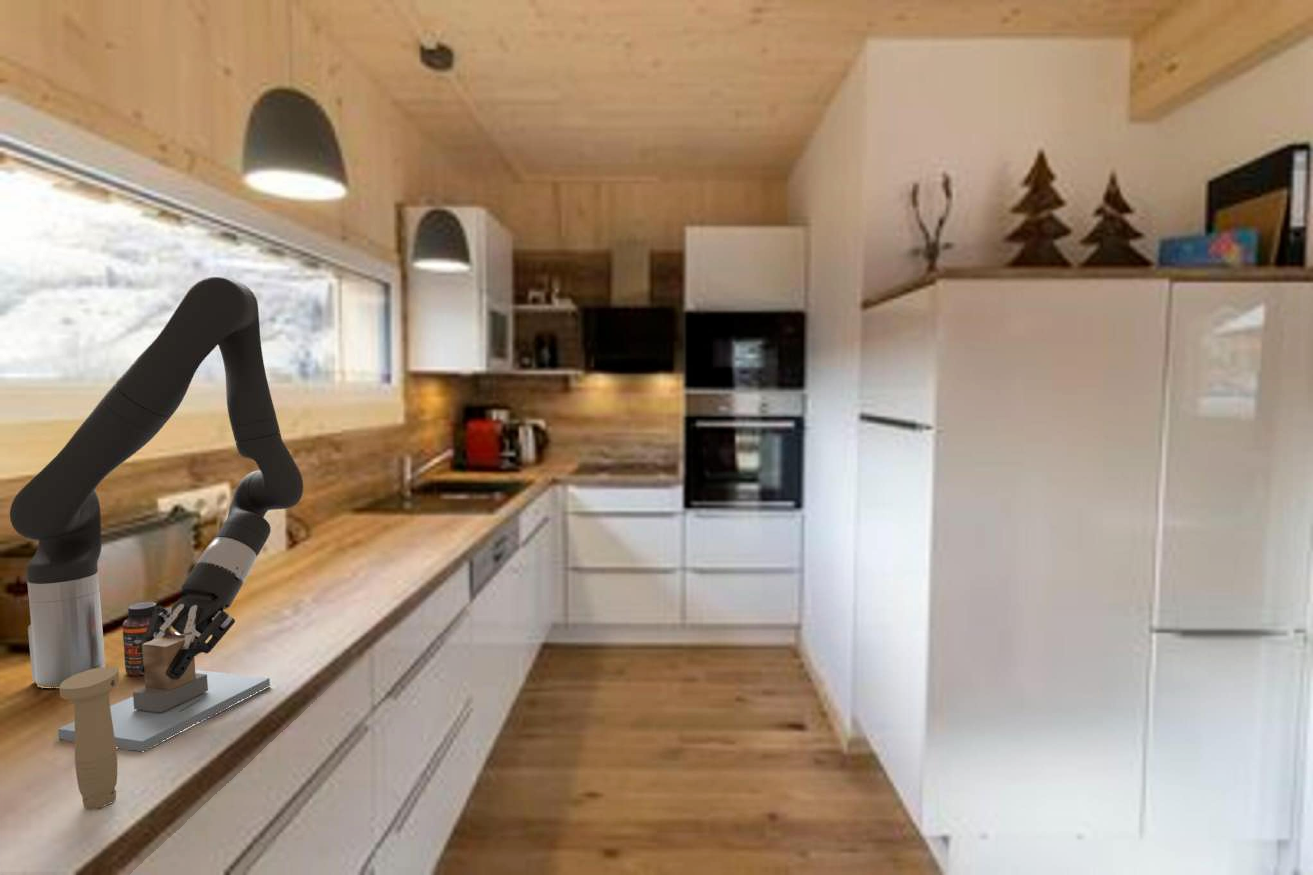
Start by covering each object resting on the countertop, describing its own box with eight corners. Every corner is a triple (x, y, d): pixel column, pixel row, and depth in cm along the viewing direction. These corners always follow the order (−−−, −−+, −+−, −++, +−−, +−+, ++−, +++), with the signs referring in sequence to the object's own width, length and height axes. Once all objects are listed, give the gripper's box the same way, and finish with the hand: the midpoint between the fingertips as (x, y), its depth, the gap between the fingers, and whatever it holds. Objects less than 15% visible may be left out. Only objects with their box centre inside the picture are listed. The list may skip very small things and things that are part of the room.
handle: (137, 787, 93) (128, 665, 92) (105, 817, 87) (95, 687, 86) (94, 790, 93) (84, 668, 92) (59, 820, 87) (48, 690, 85)
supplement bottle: (116, 676, 129) (111, 609, 128) (144, 663, 135) (140, 599, 134) (148, 677, 129) (143, 610, 128) (175, 664, 134) (171, 600, 134)
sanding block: (134, 709, 112) (129, 648, 111) (182, 687, 120) (178, 630, 119) (161, 712, 111) (156, 650, 110) (208, 690, 118) (204, 632, 117)
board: (59, 739, 107) (58, 728, 107) (195, 678, 128) (194, 669, 128) (143, 752, 102) (142, 741, 102) (270, 687, 123) (269, 677, 123)
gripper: (169, 558, 123) (101, 660, 112) (242, 562, 119) (179, 669, 108) (199, 582, 128) (137, 681, 118) (270, 587, 124) (213, 691, 113)
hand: (158, 675), depth 113 cm, fingers closed on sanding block, 4 cm apart
